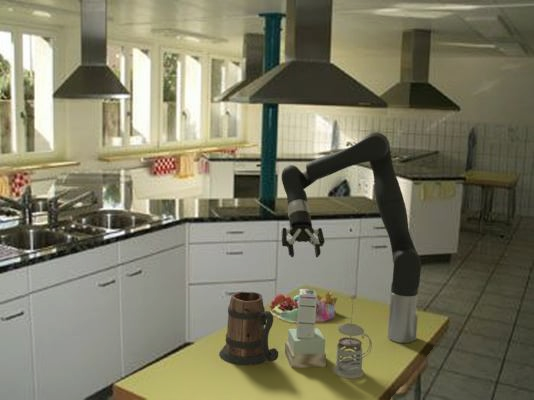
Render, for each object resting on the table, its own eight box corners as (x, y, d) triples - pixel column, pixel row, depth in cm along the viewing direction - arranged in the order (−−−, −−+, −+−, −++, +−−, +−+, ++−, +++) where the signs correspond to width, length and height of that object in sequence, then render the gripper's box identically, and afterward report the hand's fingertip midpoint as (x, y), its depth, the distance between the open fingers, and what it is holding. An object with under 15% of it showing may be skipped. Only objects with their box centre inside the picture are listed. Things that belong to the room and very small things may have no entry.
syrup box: (314, 339, 184) (318, 295, 181) (295, 337, 184) (299, 293, 181) (313, 332, 189) (317, 289, 187) (295, 330, 189) (299, 288, 187)
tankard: (208, 351, 191) (210, 293, 188) (248, 339, 202) (250, 284, 199) (254, 378, 174) (256, 315, 171) (294, 363, 185) (297, 303, 182)
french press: (329, 364, 186) (334, 289, 182) (365, 364, 187) (370, 289, 183) (335, 378, 176) (340, 299, 172) (373, 378, 177) (379, 300, 173)
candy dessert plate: (297, 299, 247) (298, 278, 246) (345, 313, 234) (347, 291, 232) (261, 315, 228) (262, 292, 226) (312, 330, 214) (313, 306, 212)
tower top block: (317, 341, 194) (318, 328, 193) (324, 353, 184) (325, 340, 183) (288, 341, 192) (288, 328, 191) (293, 354, 182) (294, 340, 182)
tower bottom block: (316, 353, 195) (317, 340, 194) (325, 367, 184) (326, 354, 183) (284, 354, 193) (285, 341, 192) (291, 369, 182) (292, 355, 181)
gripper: (281, 209, 198) (286, 250, 189) (321, 209, 200) (328, 250, 191) (277, 221, 204) (282, 261, 195) (317, 221, 206) (323, 261, 197)
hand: (305, 256), depth 193 cm, fingers open, 8 cm apart
